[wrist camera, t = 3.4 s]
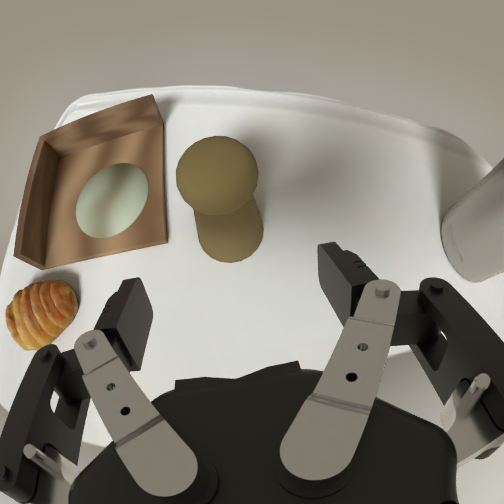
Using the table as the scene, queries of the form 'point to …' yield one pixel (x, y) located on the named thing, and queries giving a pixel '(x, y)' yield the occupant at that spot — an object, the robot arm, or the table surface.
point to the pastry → (41, 313)
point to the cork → (222, 196)
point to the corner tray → (95, 188)
